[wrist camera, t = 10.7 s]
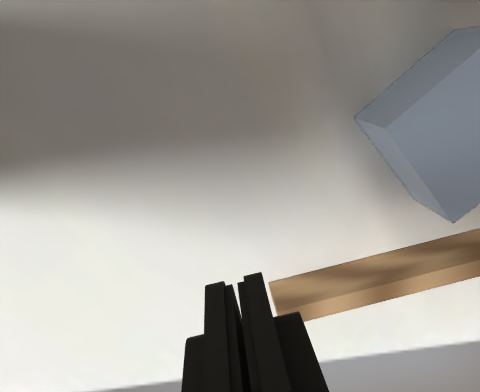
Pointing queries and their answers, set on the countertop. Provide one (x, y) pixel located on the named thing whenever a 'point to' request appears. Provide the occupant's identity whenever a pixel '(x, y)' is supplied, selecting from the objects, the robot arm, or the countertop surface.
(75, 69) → the countertop surface
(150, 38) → the countertop surface
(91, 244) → the countertop surface
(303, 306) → the box
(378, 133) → the block
